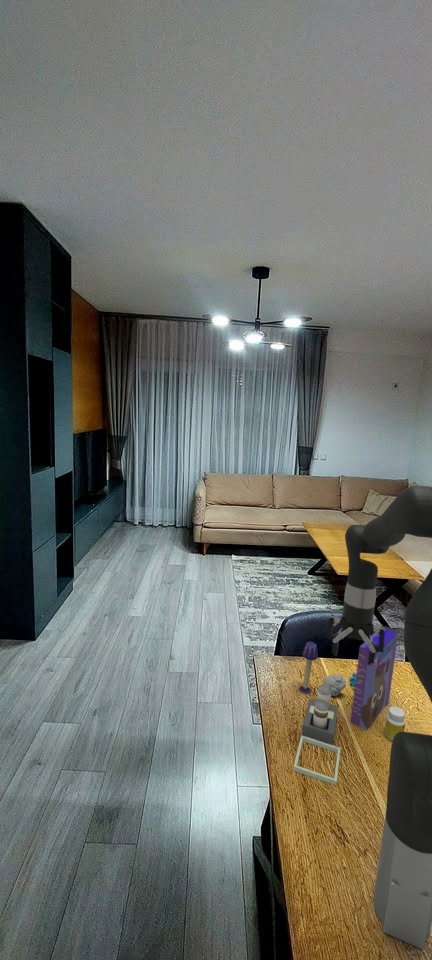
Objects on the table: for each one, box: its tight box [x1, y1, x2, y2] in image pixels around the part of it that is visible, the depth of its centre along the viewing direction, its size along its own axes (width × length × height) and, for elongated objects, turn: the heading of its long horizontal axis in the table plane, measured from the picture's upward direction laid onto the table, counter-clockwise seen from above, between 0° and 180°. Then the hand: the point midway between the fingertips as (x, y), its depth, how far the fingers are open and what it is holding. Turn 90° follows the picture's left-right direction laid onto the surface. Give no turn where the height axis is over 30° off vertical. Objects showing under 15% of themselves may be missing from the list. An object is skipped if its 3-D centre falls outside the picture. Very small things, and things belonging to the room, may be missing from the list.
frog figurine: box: [322, 673, 347, 697], centre depth 131 cm, size 6×7×7 cm
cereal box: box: [350, 625, 399, 731], centre depth 122 cm, size 17×5×24 cm, turn 139°
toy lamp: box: [298, 641, 319, 695], centre depth 130 cm, size 5×5×17 cm
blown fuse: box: [312, 698, 329, 730], centre depth 113 cm, size 4×4×8 cm
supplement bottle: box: [383, 706, 406, 742], centre depth 114 cm, size 5×5×8 cm
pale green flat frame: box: [292, 734, 342, 786], centre depth 104 cm, size 11×10×2 cm
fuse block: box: [301, 683, 339, 746], centre depth 116 cm, size 12×8×10 cm, turn 159°
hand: (352, 659), depth 111 cm, fingers open, 8 cm apart
